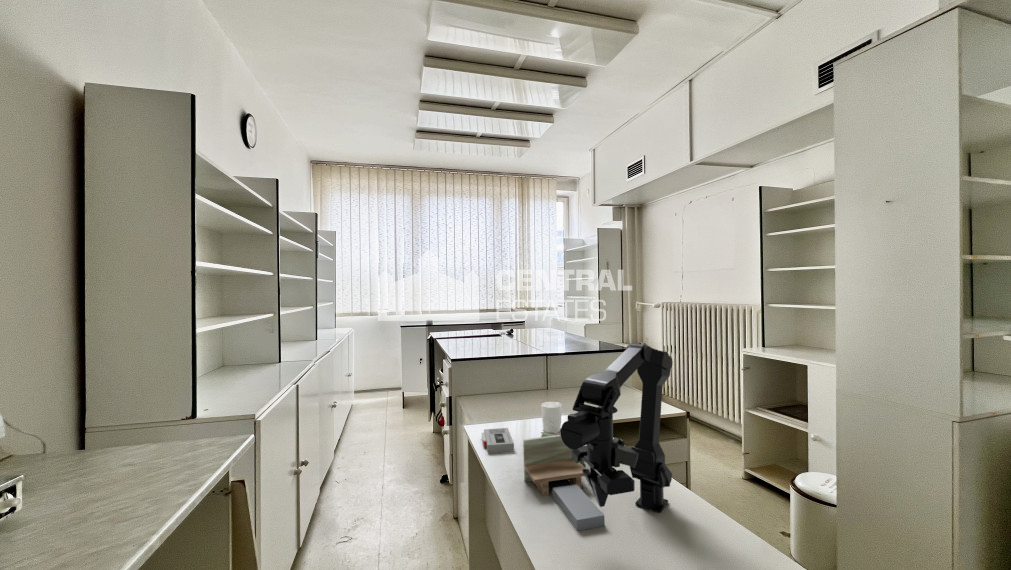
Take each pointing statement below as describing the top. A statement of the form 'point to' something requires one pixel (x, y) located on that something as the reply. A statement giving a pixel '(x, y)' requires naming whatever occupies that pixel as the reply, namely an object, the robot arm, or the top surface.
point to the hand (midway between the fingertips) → (601, 505)
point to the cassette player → (498, 440)
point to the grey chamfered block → (578, 507)
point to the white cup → (551, 416)
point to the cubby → (550, 462)
